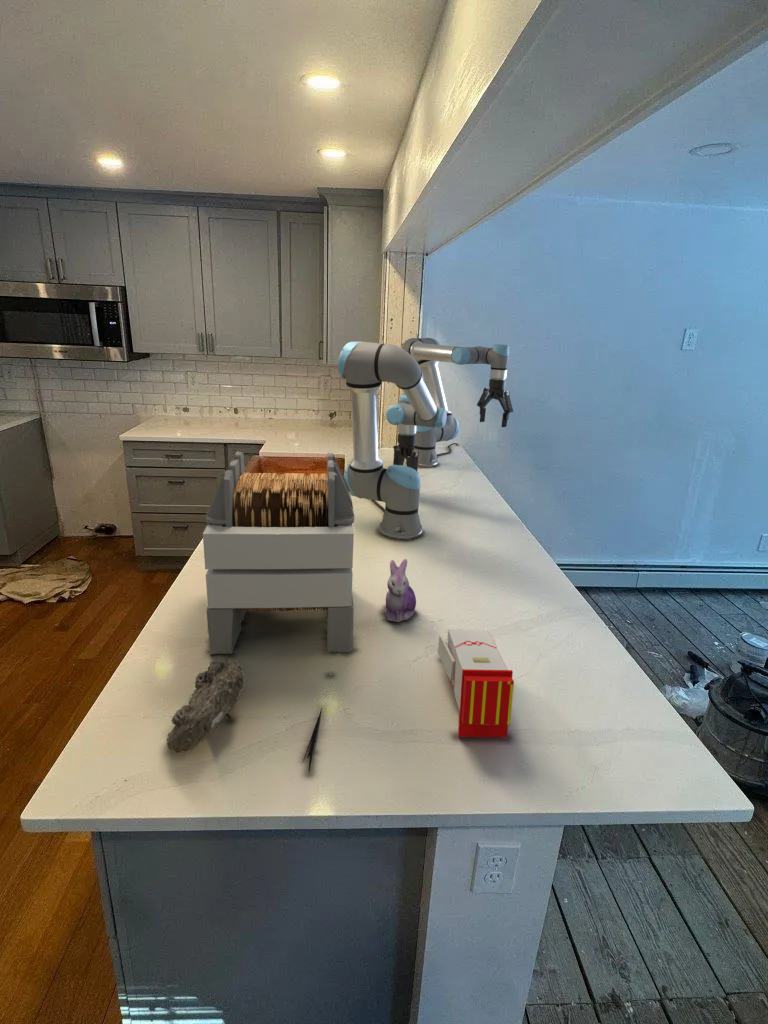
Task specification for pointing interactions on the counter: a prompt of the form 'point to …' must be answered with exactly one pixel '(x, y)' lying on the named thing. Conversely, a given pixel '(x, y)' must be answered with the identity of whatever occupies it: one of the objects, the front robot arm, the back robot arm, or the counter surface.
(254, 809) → the counter surface
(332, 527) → the record crate
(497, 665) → the toy
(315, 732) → the feather
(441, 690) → the counter surface
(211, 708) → the grey long lumpy piece
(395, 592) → the figurine
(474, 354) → the back robot arm
